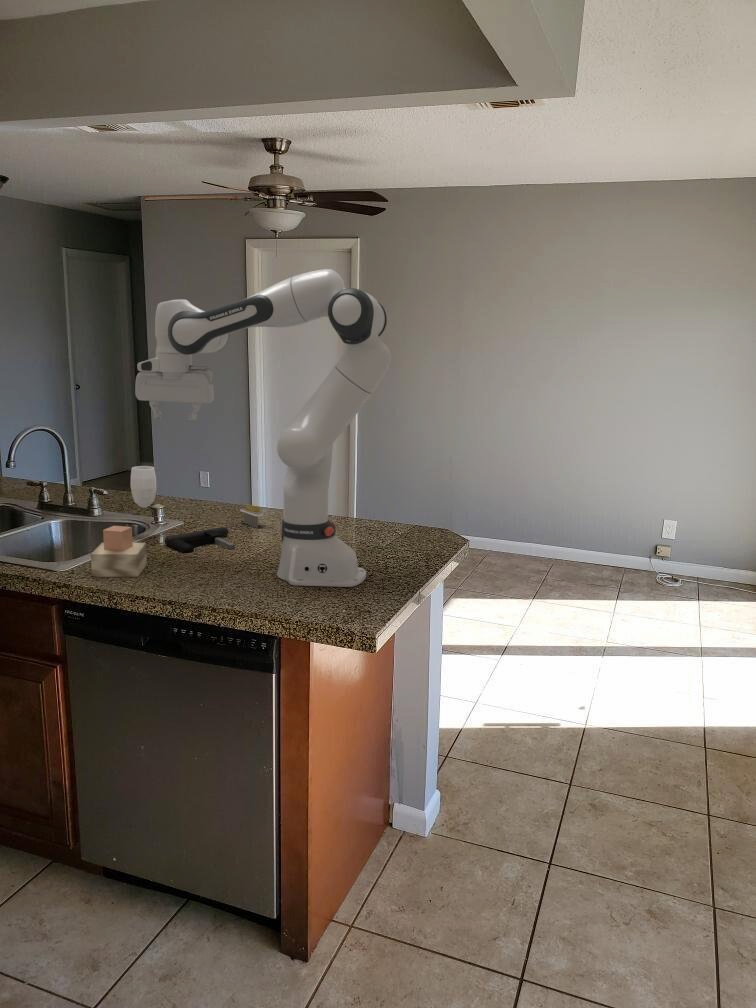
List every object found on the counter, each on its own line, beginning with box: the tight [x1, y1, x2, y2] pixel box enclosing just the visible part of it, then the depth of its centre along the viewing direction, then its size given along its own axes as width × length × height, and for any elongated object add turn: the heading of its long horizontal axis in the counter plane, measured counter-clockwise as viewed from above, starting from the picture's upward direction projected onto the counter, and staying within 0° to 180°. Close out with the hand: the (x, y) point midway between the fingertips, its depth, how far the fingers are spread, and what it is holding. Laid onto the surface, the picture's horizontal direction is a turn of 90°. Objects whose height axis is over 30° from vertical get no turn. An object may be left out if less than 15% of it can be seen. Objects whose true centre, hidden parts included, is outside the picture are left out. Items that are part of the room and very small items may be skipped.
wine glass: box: [130, 465, 157, 509], centre depth 227 cm, size 7×7×21 cm
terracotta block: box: [102, 525, 134, 551], centre depth 196 cm, size 5×5×5 cm
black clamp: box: [164, 526, 236, 554], centre depth 224 cm, size 3×20×16 cm
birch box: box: [90, 542, 148, 578], centre depth 197 cm, size 11×11×6 cm
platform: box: [239, 504, 264, 529], centre depth 247 cm, size 12×18×7 cm, turn 41°
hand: (175, 419), depth 201 cm, fingers open, 8 cm apart
